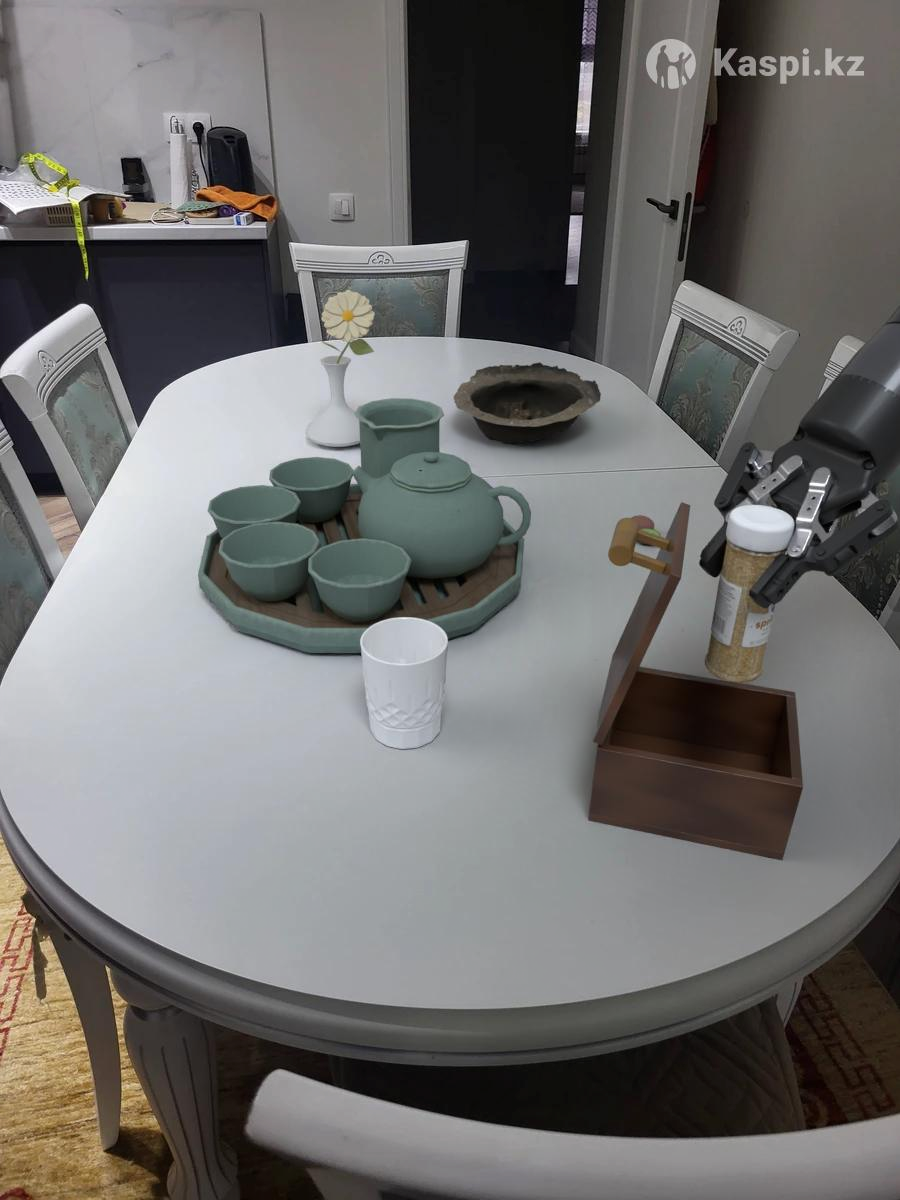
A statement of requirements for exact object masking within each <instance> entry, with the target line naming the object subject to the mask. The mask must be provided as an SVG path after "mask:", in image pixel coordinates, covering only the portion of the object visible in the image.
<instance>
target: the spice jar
mask: <svg viewBox="0 0 900 1200" xmlns="http://www.w3.org/2000/svg"><path fill="white" fill-rule="evenodd" d="M795 525H796V522H795V520H794V518H793V516H790V515H789V514H787V513H786V512H784V511H782V510H779V509H777V508H773V507H769V506H763V505H745V506H740V507H738V508H736V509H734V510H733V511H732V512H731V513H730V516H729V520H728V525H727V530H726V536H727V538H726V540H727V545H726V551H725V556H724V562H723V568H722V570H721V573H720V575H719V578H718V579H719V580H718V586H717V591H716V597H715V603H714V609H713V615H712V621H711V627H710V638H709V644H708V648H707V653H706V654H705V657H704V666H705V668H706V669H707V670H708V672H709V673H710V674H712V675H713V676H714V677H716V678H717V679H719V680H725V681H729V682H735V683H743V684H744V683H749V682H754V681H755V680H757V679H758V678H760V676H761V675H762V673H763V671H764V658H765V653H766V650H767V644H768V641H769V638H770V634H771V629H772V625H773V618H774V614H775V609H776V605H777V604H775V605H773V604H771V605H770V606H769V607H768V608H766V609H764V608H762V607H761V606H759V605H757V604H756V603H755V602H754V601H753V599H752V598H751V597H750V596H749V591H750V589H751V588H752V587H753V585H754V584H755V583H756V582H757V581H758V579H759V578H760V577H761V576H762V575H763V573H764V572H765V571H766V570H767V568H768V567H769V566H770V565H771V564H772V562H773V561H774V560H775V559H776V558H777V556H778V555H779V554H780V553H781V554H783V555H786V554H787V548H788V546H789V543H790V541H791V539H792V536H793V534H794V531H795Z"/></svg>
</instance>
